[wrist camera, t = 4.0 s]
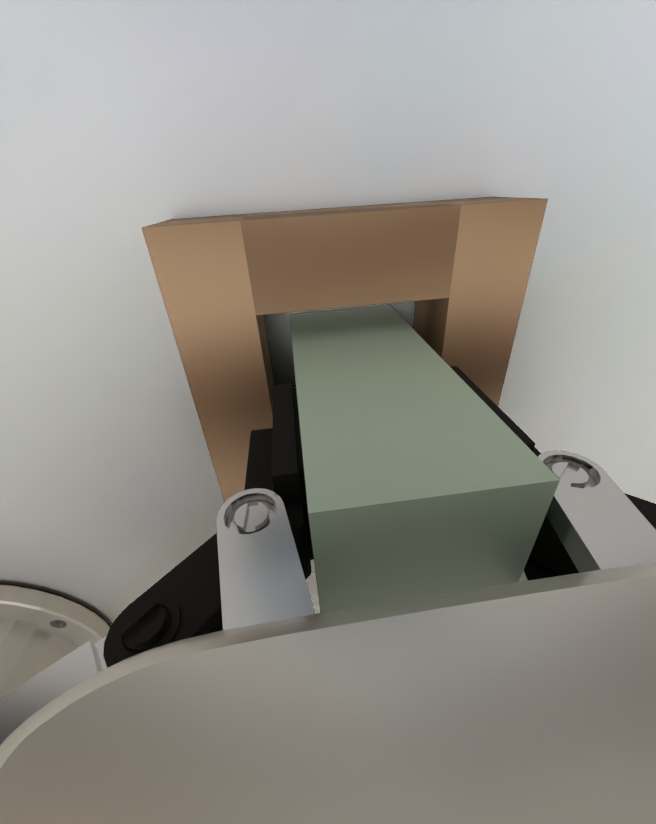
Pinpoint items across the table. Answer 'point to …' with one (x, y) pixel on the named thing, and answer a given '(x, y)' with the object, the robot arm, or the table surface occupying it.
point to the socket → (336, 293)
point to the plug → (406, 466)
